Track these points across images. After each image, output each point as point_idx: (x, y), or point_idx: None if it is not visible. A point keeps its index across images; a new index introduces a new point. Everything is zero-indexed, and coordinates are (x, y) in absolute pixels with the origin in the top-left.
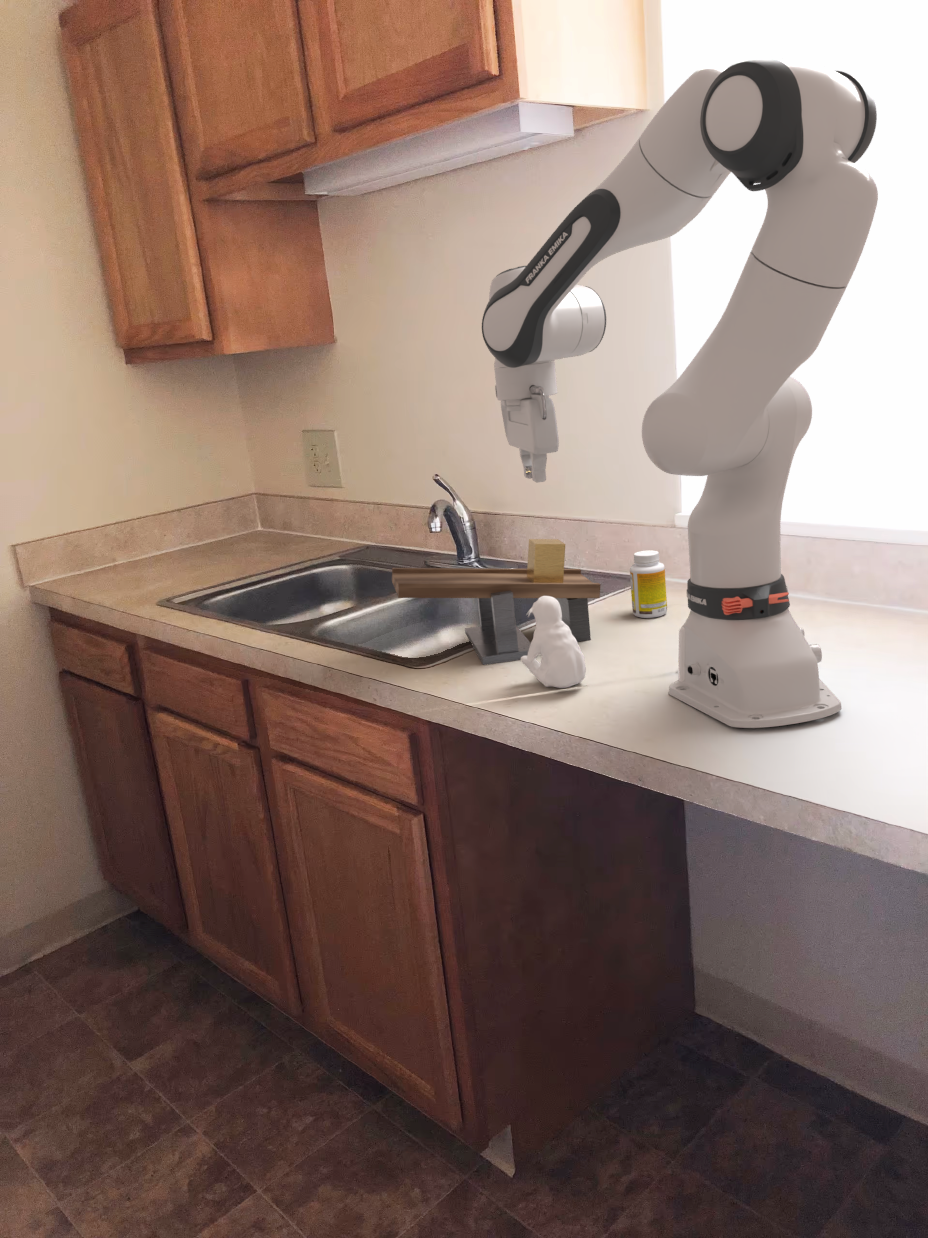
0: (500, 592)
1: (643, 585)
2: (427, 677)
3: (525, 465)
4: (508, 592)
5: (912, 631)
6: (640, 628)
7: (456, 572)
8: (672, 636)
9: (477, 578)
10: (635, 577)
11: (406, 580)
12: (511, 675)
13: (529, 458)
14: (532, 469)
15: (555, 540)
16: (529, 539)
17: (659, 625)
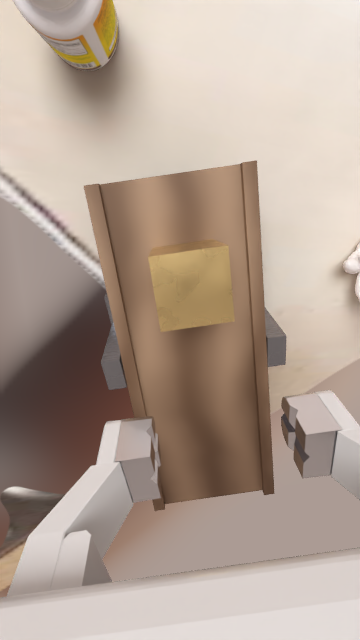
0: (270, 353)
1: (106, 20)
2: (271, 385)
3: (128, 504)
4: (278, 341)
5: None
6: (176, 78)
7: None
8: (251, 22)
9: (187, 389)
10: (91, 33)
11: (219, 483)
12: (312, 304)
13: (95, 523)
14: (340, 479)
15: (172, 266)
16: (168, 330)
17: (170, 30)
